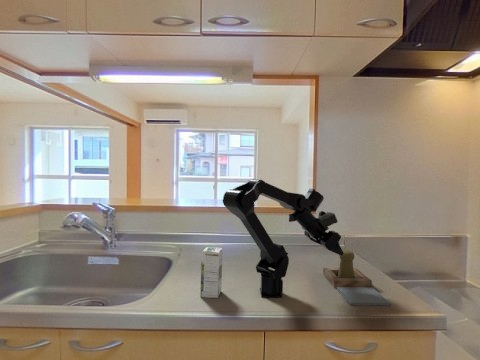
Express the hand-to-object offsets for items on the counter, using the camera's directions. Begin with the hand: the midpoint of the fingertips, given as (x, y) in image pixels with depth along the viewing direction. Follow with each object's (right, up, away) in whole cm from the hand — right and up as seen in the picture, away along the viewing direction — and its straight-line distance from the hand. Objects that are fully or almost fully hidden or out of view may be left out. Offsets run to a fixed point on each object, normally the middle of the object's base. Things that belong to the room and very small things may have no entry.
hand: (336, 251), depth 110 cm
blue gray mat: (+4, -12, -13) cm, 18 cm away
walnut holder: (+4, -11, +1) cm, 12 cm away
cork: (+4, -11, +1) cm, 12 cm away
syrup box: (-44, -11, -13) cm, 47 cm away
